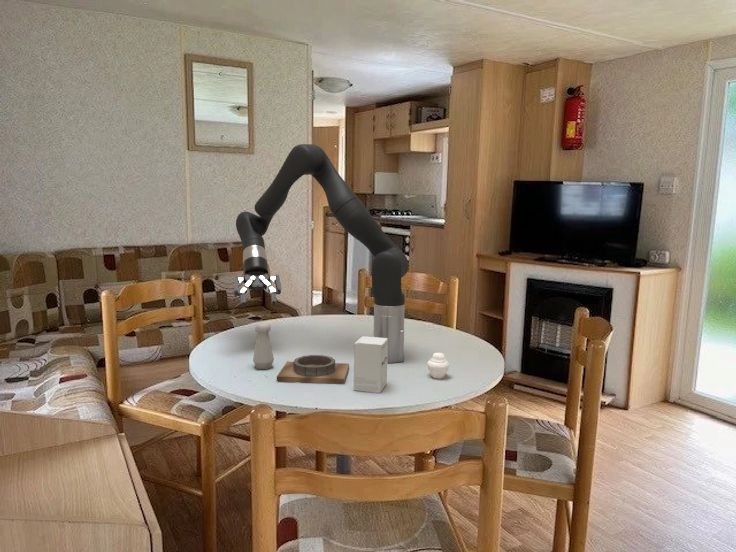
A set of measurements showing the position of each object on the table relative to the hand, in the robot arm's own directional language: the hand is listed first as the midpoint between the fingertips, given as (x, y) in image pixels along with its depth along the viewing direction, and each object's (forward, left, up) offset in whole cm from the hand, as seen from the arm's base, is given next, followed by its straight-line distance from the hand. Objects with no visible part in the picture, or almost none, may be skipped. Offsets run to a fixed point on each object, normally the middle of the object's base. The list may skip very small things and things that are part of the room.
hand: (259, 304), depth 161 cm
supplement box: (-35, +23, -16) cm, 45 cm away
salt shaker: (-4, +10, -16) cm, 20 cm away
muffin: (-53, +13, -16) cm, 57 cm away
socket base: (-19, +15, -16) cm, 30 cm away
